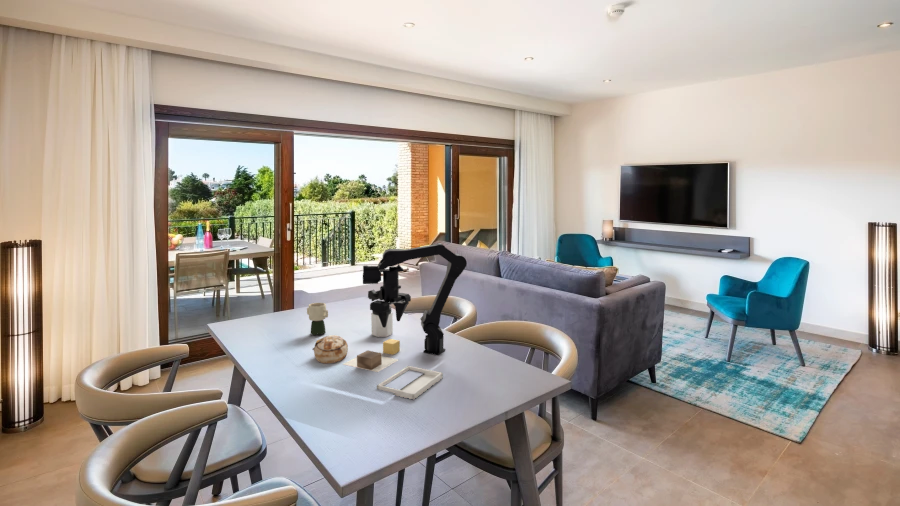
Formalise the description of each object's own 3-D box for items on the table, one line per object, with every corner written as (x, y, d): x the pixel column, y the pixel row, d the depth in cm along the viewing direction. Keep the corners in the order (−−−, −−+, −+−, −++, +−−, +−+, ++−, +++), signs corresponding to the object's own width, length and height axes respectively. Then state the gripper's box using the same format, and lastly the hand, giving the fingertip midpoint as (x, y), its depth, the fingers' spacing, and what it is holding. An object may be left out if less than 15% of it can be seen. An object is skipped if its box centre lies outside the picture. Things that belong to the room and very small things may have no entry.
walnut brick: (381, 364, 161) (381, 353, 160) (371, 370, 156) (371, 358, 155) (367, 361, 164) (367, 350, 163) (357, 366, 158) (356, 355, 158)
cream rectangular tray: (442, 378, 151) (442, 372, 151) (413, 400, 135) (413, 394, 135) (408, 370, 157) (408, 365, 157) (376, 391, 141) (376, 385, 141)
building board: (399, 361, 165) (399, 359, 165) (377, 374, 154) (377, 372, 154) (365, 354, 172) (365, 352, 172) (342, 366, 161) (342, 364, 160)
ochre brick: (399, 353, 174) (399, 340, 174) (393, 357, 170) (393, 344, 170) (389, 351, 176) (389, 338, 176) (383, 355, 172) (383, 342, 172)
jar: (371, 337, 192) (370, 309, 191) (371, 331, 200) (371, 304, 199) (392, 336, 193) (392, 309, 192) (392, 331, 201) (392, 304, 200)
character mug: (333, 333, 197) (333, 304, 195) (322, 338, 191) (321, 307, 189) (313, 330, 202) (312, 301, 200) (302, 334, 195) (301, 304, 193)
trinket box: (339, 349, 178) (338, 329, 177) (357, 360, 167) (357, 339, 166) (305, 356, 170) (304, 336, 169) (322, 369, 159) (322, 347, 158)
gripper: (387, 277, 182) (387, 315, 184) (357, 285, 165) (358, 327, 167) (411, 279, 177) (411, 319, 179) (382, 288, 160) (383, 332, 162)
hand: (391, 324), depth 172 cm, fingers open, 9 cm apart
